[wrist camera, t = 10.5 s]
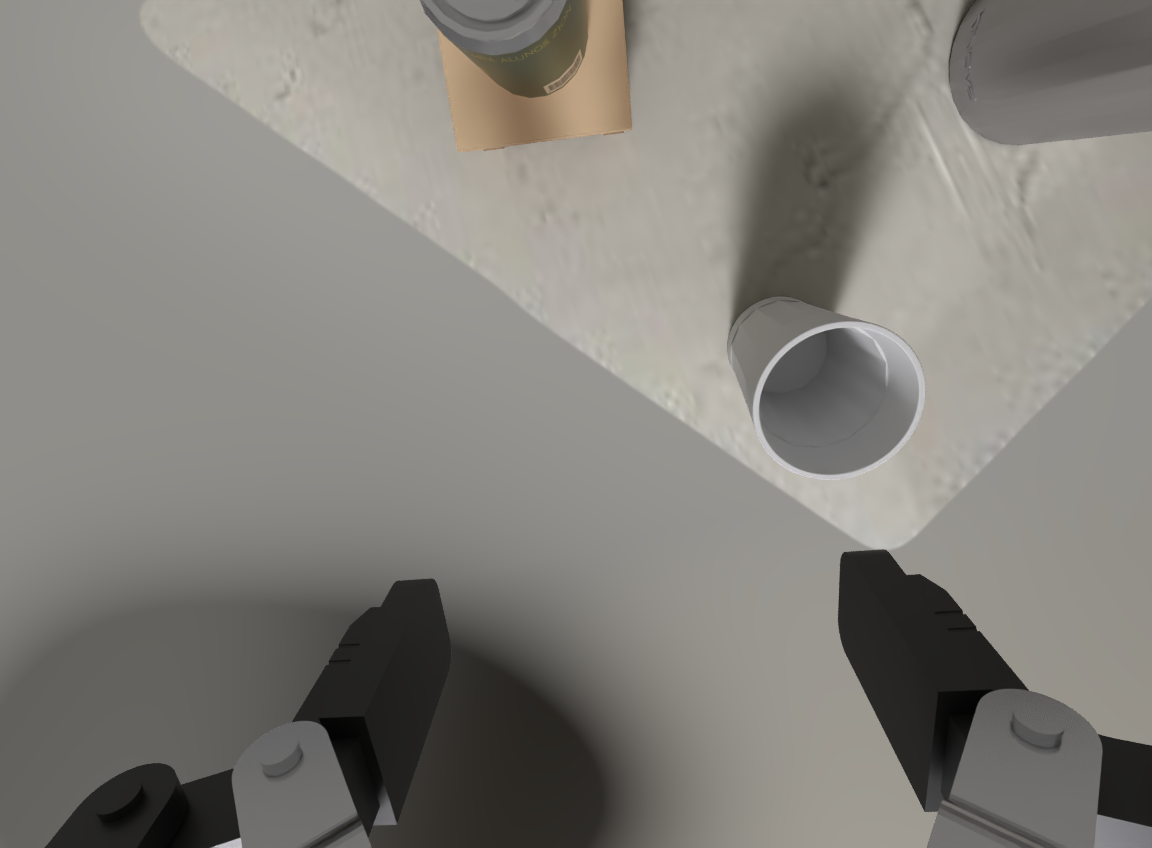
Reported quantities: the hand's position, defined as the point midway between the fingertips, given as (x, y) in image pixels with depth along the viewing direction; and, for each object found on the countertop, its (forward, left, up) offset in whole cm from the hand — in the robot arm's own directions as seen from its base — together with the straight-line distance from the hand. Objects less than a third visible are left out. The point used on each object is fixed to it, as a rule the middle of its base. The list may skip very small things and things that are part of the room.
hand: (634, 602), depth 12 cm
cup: (-10, +3, -30) cm, 32 cm away
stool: (+3, -15, -30) cm, 34 cm away
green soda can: (+3, -15, -24) cm, 29 cm away
